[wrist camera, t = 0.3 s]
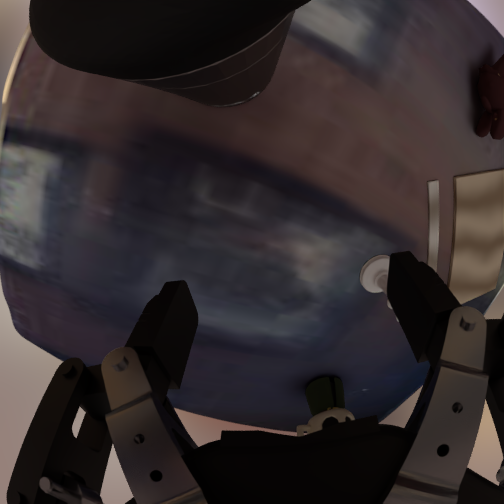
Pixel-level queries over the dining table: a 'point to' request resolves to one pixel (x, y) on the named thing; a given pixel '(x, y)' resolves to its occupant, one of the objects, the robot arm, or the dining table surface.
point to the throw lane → (471, 232)
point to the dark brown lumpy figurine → (492, 100)
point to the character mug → (325, 405)
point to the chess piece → (376, 275)
